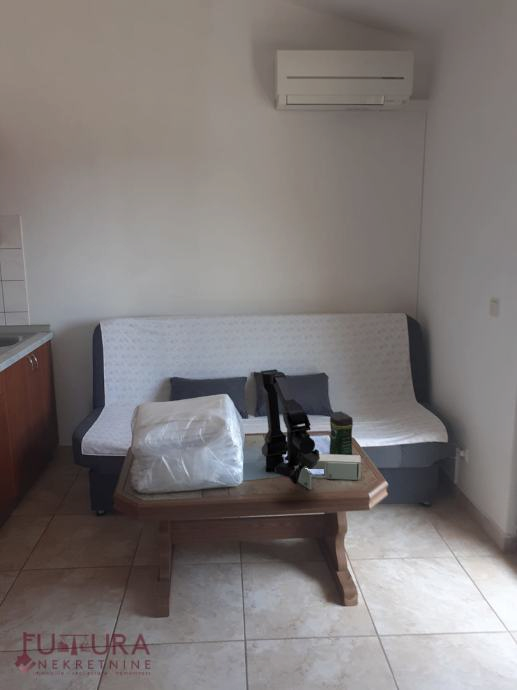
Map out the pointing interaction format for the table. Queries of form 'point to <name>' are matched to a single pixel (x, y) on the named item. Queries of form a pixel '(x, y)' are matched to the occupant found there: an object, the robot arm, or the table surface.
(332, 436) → the coffee jar
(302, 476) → the door
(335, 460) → the cabinet
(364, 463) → the table surface
